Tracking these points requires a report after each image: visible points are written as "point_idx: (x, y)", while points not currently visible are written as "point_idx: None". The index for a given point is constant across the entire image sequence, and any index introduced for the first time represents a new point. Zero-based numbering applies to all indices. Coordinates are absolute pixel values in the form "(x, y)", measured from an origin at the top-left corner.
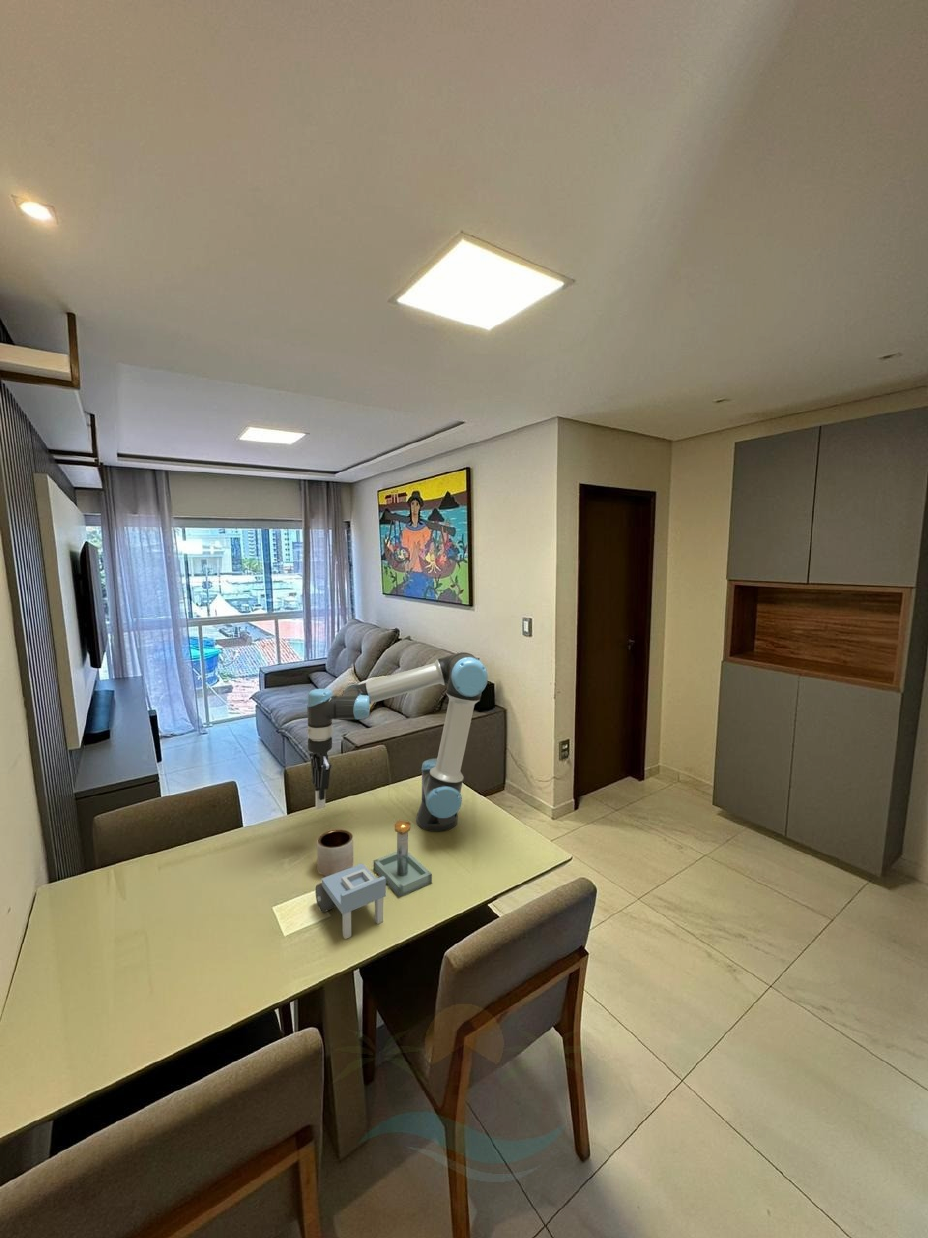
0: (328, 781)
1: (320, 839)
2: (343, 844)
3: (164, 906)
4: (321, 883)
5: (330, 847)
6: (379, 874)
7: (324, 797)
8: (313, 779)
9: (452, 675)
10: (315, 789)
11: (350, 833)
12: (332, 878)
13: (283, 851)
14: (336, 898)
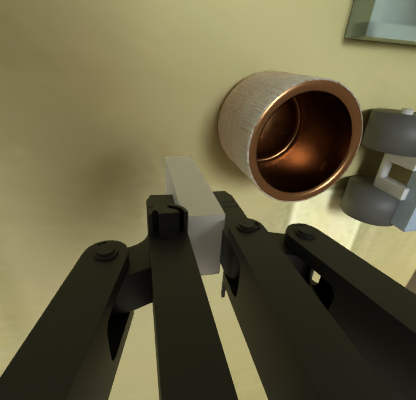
0: (389, 283)
1: (274, 188)
2: (355, 138)
3: None
4: (382, 219)
5: (337, 179)
6: (378, 40)
7: (232, 198)
8: (119, 339)
9: None
10: (223, 292)
11: (324, 83)
12: None
13: (104, 210)
14: None
